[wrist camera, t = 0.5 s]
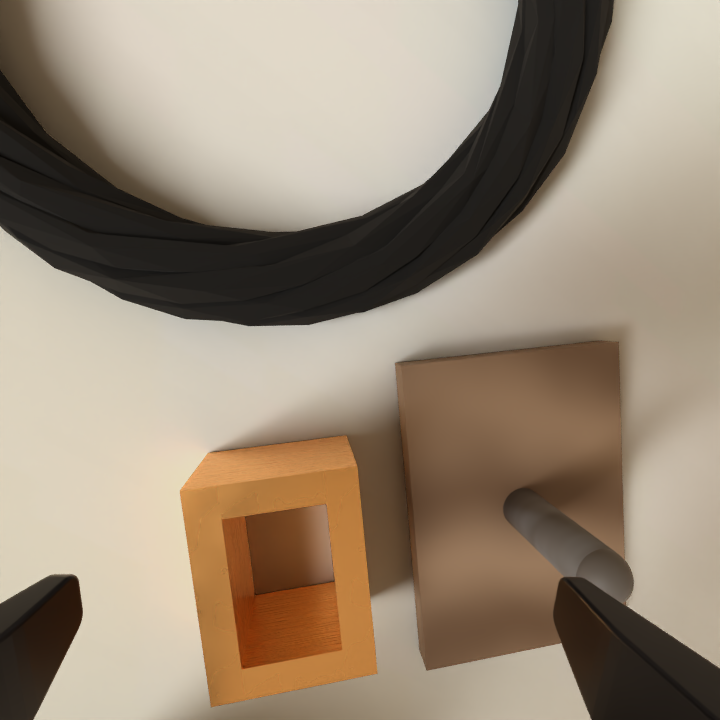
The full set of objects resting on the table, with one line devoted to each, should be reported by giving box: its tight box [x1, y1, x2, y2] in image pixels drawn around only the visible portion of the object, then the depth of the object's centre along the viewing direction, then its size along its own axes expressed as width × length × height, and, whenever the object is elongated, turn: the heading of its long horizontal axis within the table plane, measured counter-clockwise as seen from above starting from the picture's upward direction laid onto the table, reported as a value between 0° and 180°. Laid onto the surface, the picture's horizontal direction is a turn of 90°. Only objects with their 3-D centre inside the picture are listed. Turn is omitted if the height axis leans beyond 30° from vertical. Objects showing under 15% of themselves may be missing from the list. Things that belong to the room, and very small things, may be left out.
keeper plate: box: [395, 341, 634, 670], centre depth 16 cm, size 14×10×7 cm
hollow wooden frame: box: [180, 435, 377, 707], centre depth 16 cm, size 8×6×4 cm
